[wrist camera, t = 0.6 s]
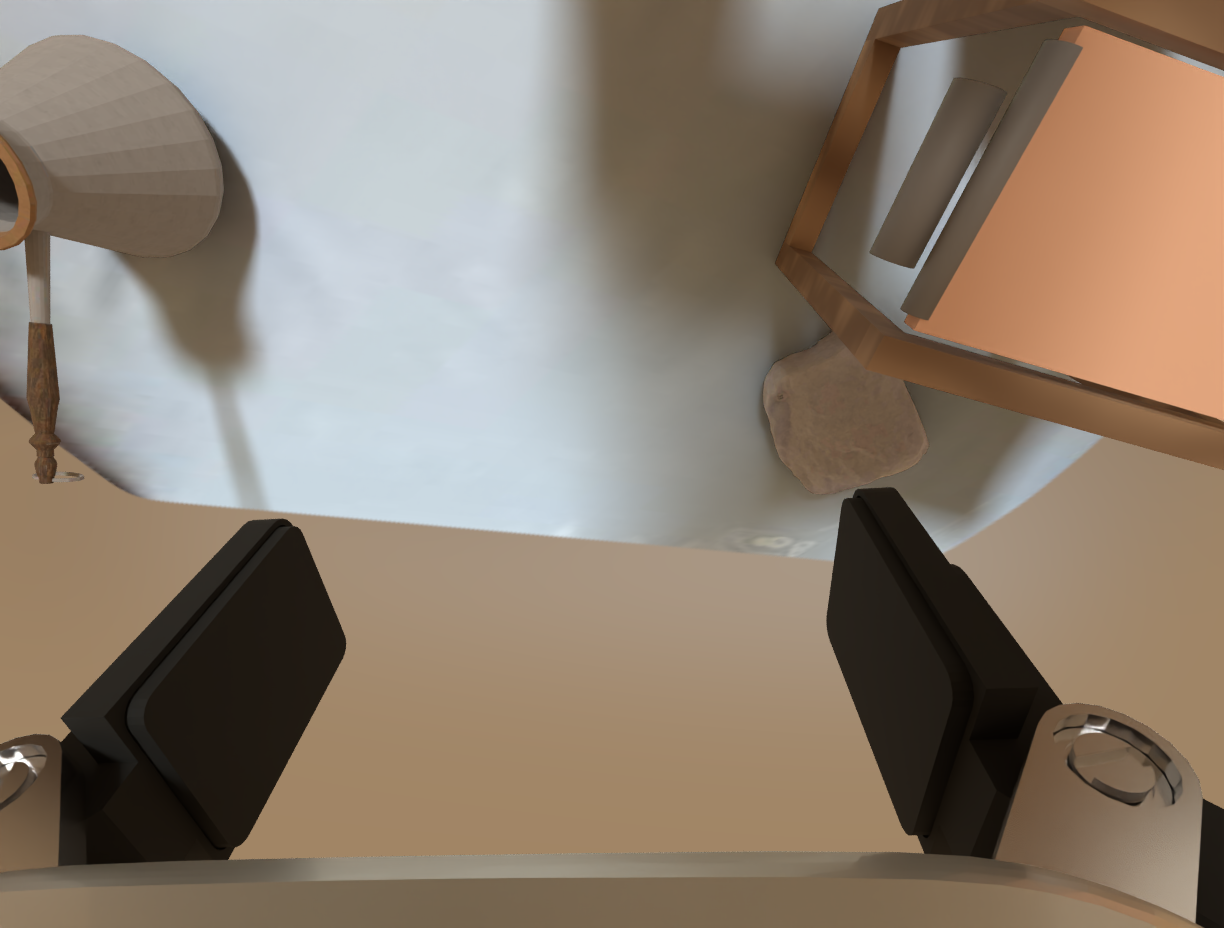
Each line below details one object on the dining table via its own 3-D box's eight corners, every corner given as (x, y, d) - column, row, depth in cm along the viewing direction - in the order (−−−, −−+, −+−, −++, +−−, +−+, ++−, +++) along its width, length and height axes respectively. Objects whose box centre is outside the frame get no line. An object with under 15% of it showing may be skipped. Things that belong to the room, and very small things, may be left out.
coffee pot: (17, 25, 34) (-352, -17, 21) (223, 52, 34) (-17, 27, 22) (132, 373, 45) (-64, 482, 32) (287, 390, 46) (153, 505, 33)
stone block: (802, 475, 51) (928, 433, 46) (804, 511, 47) (942, 470, 42) (740, 360, 46) (874, 301, 41) (737, 390, 42) (884, 328, 37)
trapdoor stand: (878, 8, 32) (1100, -70, 17) (1162, 110, 35) (1586, 122, 19) (774, 263, 40) (865, 369, 24) (1015, 335, 42) (1238, 474, 26)
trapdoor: (977, 10, 20) (1020, -1, 18) (1412, 170, 22) (1499, 179, 20) (840, 296, 25) (860, 315, 23) (1206, 403, 27) (1257, 430, 25)
